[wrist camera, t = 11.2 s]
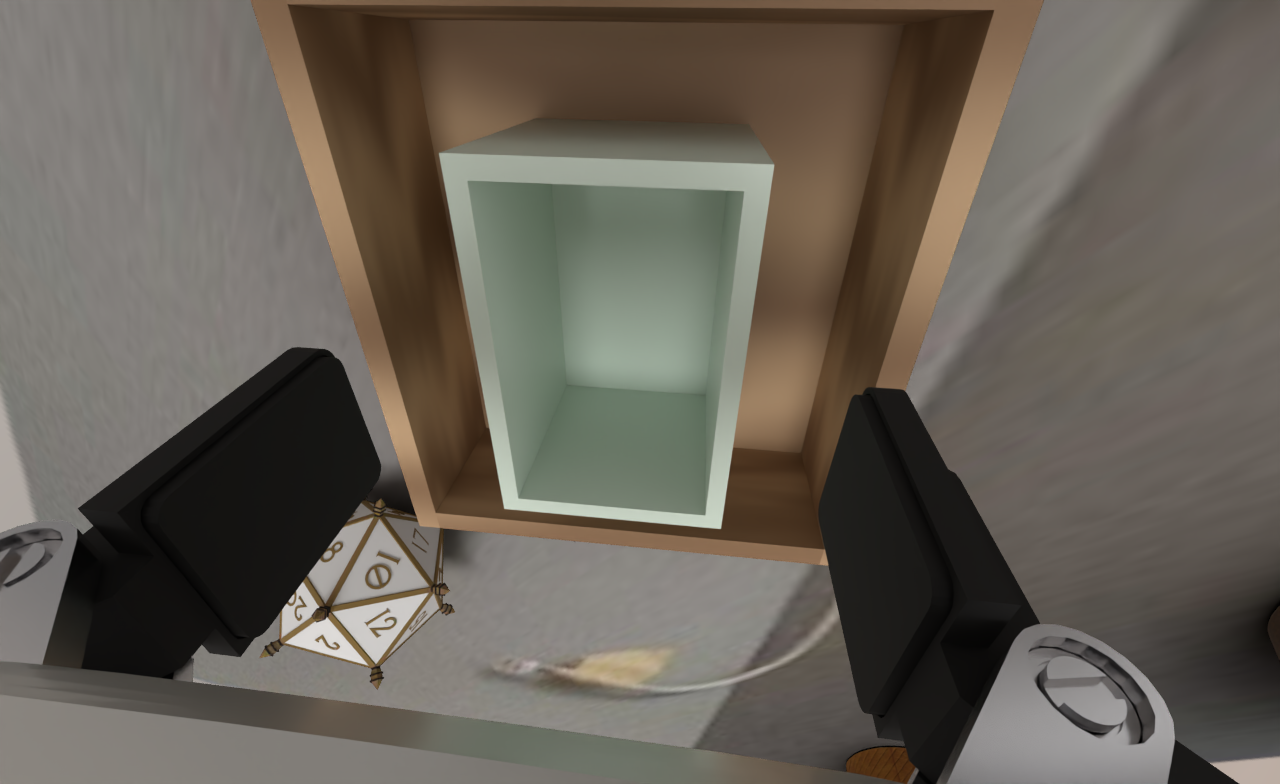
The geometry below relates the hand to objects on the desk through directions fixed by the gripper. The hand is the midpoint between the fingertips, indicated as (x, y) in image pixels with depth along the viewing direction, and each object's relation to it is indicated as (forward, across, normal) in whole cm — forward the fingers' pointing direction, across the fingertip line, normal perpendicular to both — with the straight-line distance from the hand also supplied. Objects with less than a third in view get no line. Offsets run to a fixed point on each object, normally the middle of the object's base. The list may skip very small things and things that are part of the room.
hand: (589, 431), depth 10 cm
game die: (+11, +13, +16) cm, 23 cm away
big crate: (+11, 0, +1) cm, 11 cm away
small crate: (+10, 0, +1) cm, 10 cm away
